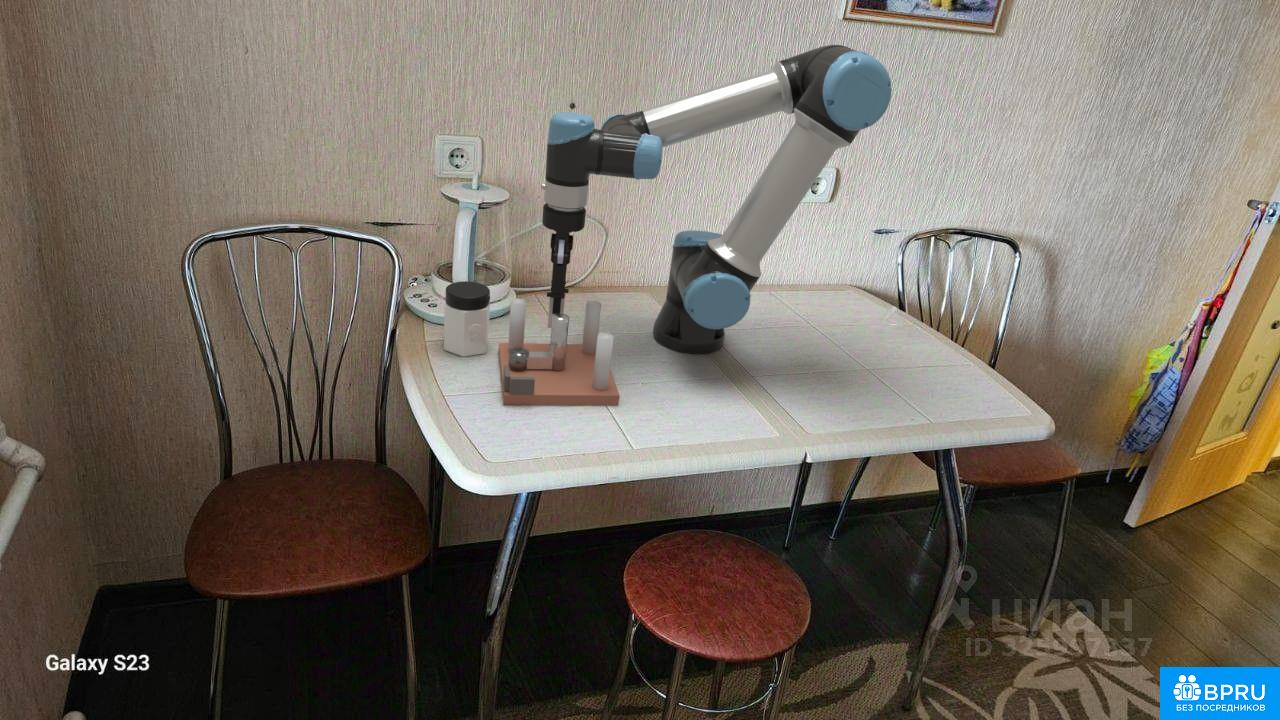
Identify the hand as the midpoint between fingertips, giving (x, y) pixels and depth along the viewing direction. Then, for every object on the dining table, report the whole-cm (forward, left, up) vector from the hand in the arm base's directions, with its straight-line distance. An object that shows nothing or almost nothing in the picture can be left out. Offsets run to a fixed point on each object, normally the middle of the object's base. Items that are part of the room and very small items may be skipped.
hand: (555, 326), depth 153 cm
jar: (+16, -5, -7) cm, 18 cm away
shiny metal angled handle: (+4, +7, -5) cm, 9 cm away
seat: (0, +7, -7) cm, 10 cm away
